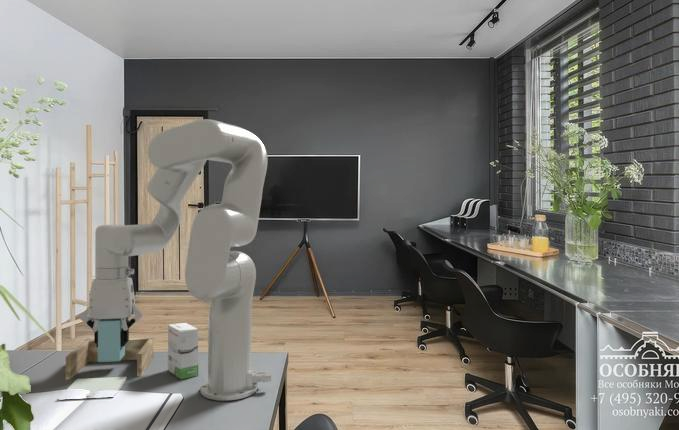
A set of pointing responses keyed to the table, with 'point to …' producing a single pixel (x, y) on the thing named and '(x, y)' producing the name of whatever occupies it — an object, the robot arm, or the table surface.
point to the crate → (133, 351)
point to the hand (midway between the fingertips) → (111, 344)
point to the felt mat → (98, 384)
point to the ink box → (183, 350)
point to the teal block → (110, 340)
